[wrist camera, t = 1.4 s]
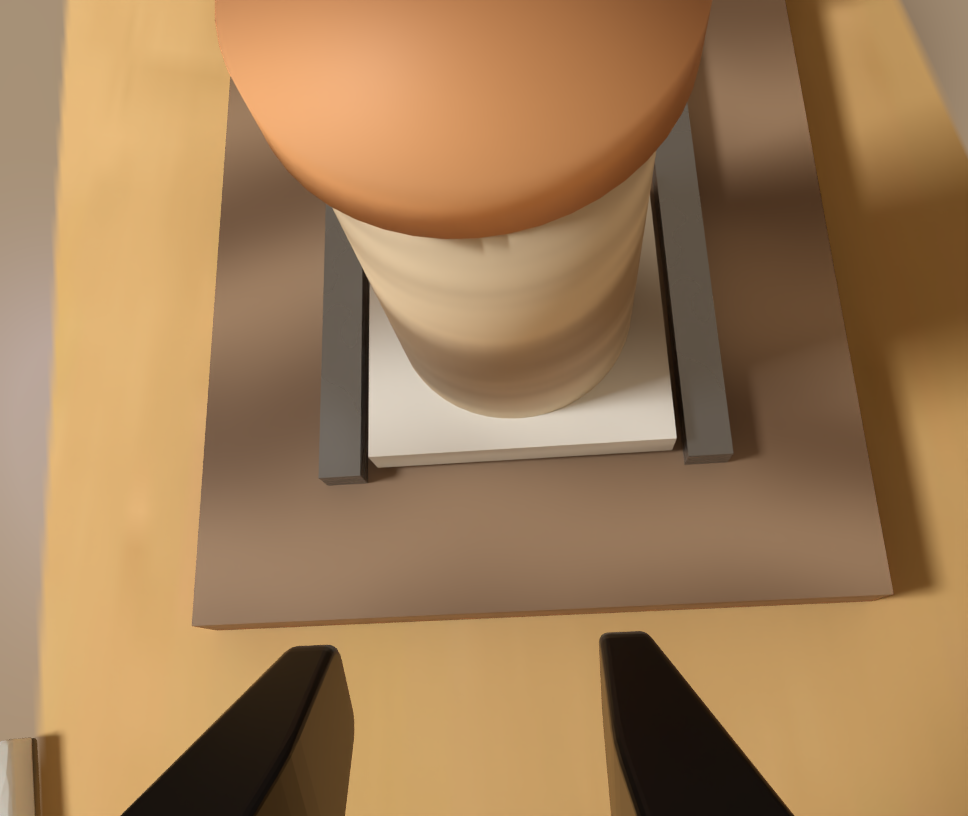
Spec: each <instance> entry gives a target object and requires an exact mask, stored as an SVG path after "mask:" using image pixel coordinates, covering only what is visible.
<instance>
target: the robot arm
mask: <svg viewBox="0 0 968 816" xmlns="http://www.w3.org/2000/svg"><path fill="white" fill-rule="evenodd" d="M599 654H600V675H601V696H602V714H603V727H604V739H605V750H606V762H607V773H608V784H609V796H610V807H611V816H794V815H793V813H792V812H791V811H790V810H789V808H788V807H787V806H786V805H785V803H784V802H783V801H782V800H781V798H780V797H779V796H778V795H777V793H776V792H775V791H774V790H773V788H772V787H771V786H770V785H769V783H768V782H767V781H766V780H765V778H764V777H763V776H762V775H761V773H760V772H759V771H758V770H757V769H756V767H755V766H754V765H753V764H752V762H751V761H750V760H749V759H748V757H747V756H746V755H745V754H744V752H743V751H742V750H741V749H740V747H739V746H738V745H737V744H736V742H735V741H734V740H733V739H732V737H731V736H730V735H729V734H728V732H727V731H726V730H725V729H724V727H723V726H722V725H721V724H720V722H719V721H718V720H717V719H716V717H715V716H714V715H713V714H712V712H711V711H710V710H709V709H708V707H707V706H706V705H705V704H704V702H703V701H702V700H701V699H700V697H699V696H698V695H697V694H696V692H695V691H694V690H693V689H692V687H691V686H690V685H689V684H688V682H687V681H686V680H685V679H684V678H683V676H682V675H681V674H680V673H679V671H678V670H677V669H676V668H675V666H674V665H673V664H672V663H671V661H670V660H669V659H668V658H667V656H666V655H665V654H664V653H663V651H662V650H661V649H660V648H659V646H658V645H657V644H656V643H655V641H654V640H653V639H652V638H651V637H650V636H649V635H648V634H647V633H645V632H641V631H635V632H612V633H604V634H603V635H602V636H601V637H600V640H599ZM353 742H354V715H353V709H352V704H351V700H350V695H349V691H348V686H347V682H346V677H345V673H344V668H343V664H342V659H341V656H340V654H339V652H338V650H337V648H335V647H333V646H332V645H313V646H296V647H292V648H291V649H289V650H287V651H286V652H285V653H284V654H283V655H282V656H281V657H280V658H279V659H278V660H277V661H276V662H275V663H274V664H273V665H272V666H271V667H270V668H269V669H268V670H267V671H266V672H265V673H264V674H263V675H262V676H261V677H260V678H259V679H258V680H257V681H256V682H255V683H254V684H253V685H252V686H251V687H250V688H249V689H248V690H247V691H246V692H245V693H244V694H243V695H242V696H241V697H240V698H238V699H237V700H236V701H235V702H234V703H233V704H232V705H231V706H230V707H229V708H228V709H227V710H226V711H225V712H224V713H223V714H222V715H221V716H220V717H219V718H218V719H217V720H216V721H215V722H214V723H213V724H212V725H211V726H210V727H209V728H208V729H207V730H206V731H205V732H204V733H203V734H202V735H201V736H200V737H199V738H198V739H197V740H196V741H195V742H194V743H193V744H192V745H191V746H190V747H189V748H188V749H187V750H186V751H185V752H184V753H183V754H182V755H181V756H180V757H179V758H178V759H177V760H176V761H175V762H174V763H173V764H172V765H171V766H170V767H169V768H168V769H167V770H166V771H165V772H164V773H163V774H162V775H161V776H160V777H159V778H158V779H157V780H156V781H155V782H154V783H153V784H152V785H151V786H150V787H149V788H148V789H147V790H146V791H145V792H144V793H143V794H142V795H141V796H140V797H139V798H138V799H137V800H136V801H135V802H134V803H133V804H132V805H131V806H130V807H129V808H128V809H127V810H126V811H125V812H124V813H123V814H122V815H121V816H345V810H346V802H347V793H348V785H349V776H350V768H351V759H352V751H353Z"/></svg>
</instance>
